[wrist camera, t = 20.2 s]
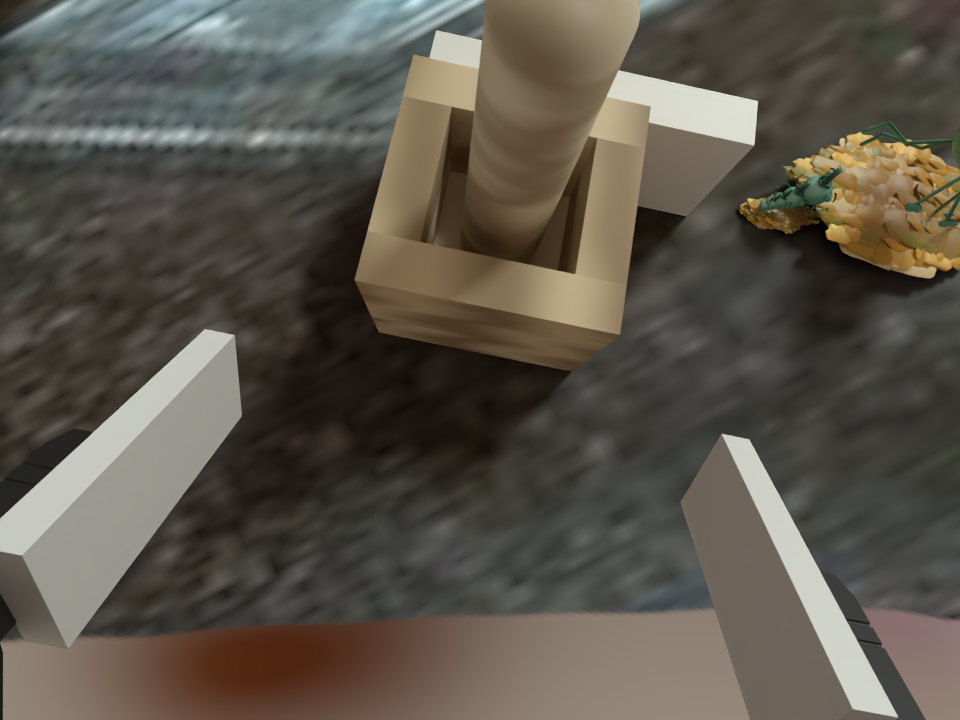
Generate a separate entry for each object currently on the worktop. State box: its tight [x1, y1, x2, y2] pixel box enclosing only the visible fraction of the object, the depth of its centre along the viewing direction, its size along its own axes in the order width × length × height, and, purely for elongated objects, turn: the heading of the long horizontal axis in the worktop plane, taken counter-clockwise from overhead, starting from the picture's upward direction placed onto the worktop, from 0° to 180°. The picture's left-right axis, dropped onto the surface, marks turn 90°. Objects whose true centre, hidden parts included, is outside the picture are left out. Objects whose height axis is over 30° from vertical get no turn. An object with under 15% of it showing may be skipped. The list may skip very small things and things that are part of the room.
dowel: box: [460, 0, 640, 265], centre depth 20 cm, size 4×4×14 cm
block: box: [355, 55, 651, 371], centre depth 26 cm, size 11×11×8 cm
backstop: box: [430, 30, 758, 216], centre depth 28 cm, size 16×2×7 cm, turn 79°
